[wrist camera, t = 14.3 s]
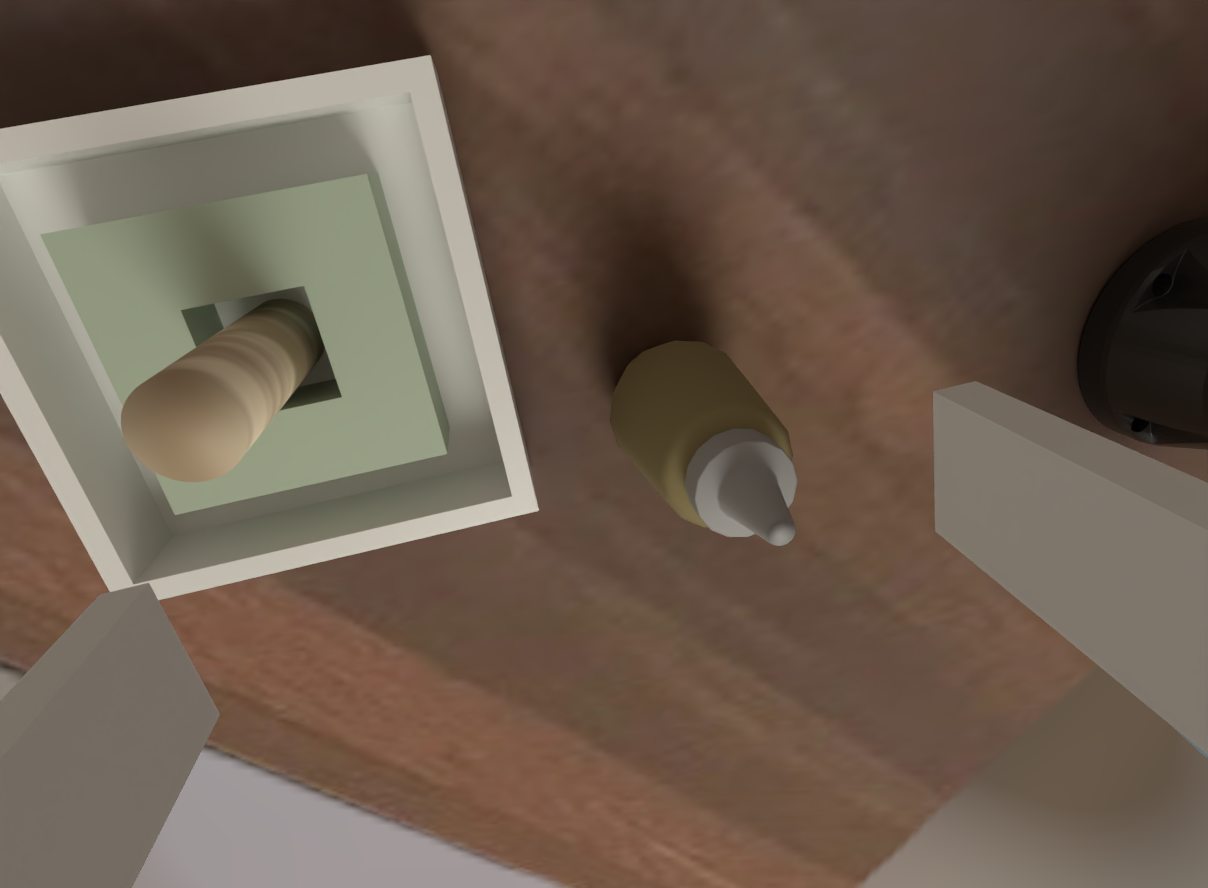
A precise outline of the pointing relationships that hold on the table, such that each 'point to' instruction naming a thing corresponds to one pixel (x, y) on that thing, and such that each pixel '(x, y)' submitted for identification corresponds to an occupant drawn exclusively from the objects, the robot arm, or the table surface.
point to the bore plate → (257, 266)
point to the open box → (226, 171)
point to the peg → (221, 393)
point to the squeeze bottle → (706, 441)
